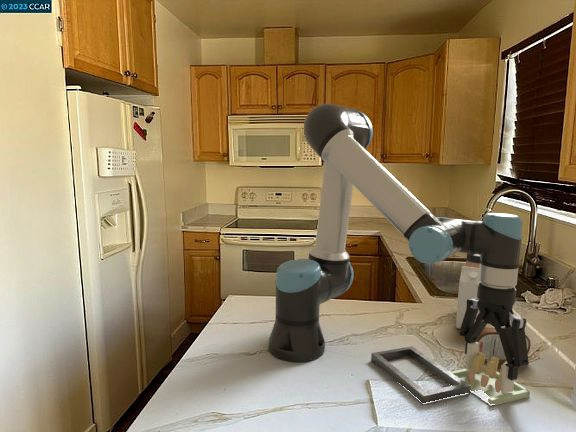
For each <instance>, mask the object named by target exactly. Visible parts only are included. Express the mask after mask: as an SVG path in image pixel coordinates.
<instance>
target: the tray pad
mask: <svg viewBox="0 0 576 432" xmlns="http://www.w3.org/2000/svg"><path fill="white" fill-rule="evenodd" d="M486 366H487V364H484V366H483V369H482V372H481V373H480V374H477V373H475V378H474V380H473V382H472V383H469V382H468V371H467V370H466V369H465V368H463V369H458V370H453V371H450V372H451V373H453V374H454V375H456V376H457V377H458V378H460V379H461V380H463V381H464V382H466V383H467V384H469V385H470V390H471V391H474V392H475V390H476V391H478V390H482V391H484V393H486V394H487V395H488V396H489V397H490V398H489V399H488V402H489V403H490V404H495V406H499V405H502V404H507V403H511V402H514V401H518V400H523V399H527V398H530V395H531V390H530V389H528V388H526V387H524V386H522V385H521V384H519V383H517V382H516V381H514V387H513V392H509V393H504V394H503V393H502V392H501V390H500V392H499V393H498V392H496V390H495V381H496V380H499V374H500V371H497V372H496V375H495V377H494V378H493V379H492V378H489V381H488V384H487V386H486V387H482V386H481V377H482V375H485V371H486ZM471 371H474V370H471ZM474 372H476V371H474ZM485 376H488V375H485ZM488 377H489V376H488ZM499 381H502V380H499Z"/></svg>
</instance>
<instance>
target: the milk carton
mask: <svg viewBox="0 0 576 432" xmlns="http://www.w3.org/2000/svg"><path fill="white" fill-rule="evenodd" d="M478 277H479V268H473V267H466V265H462V266H461V273H460V276H459V281H458V282H459V285H458V295H457V296H458V297H457V306H456V307H457V309H456V319H455V328H456V329H459V330H460V328H461V325H462V322H463V319H464V315H465V312H466V309H467V300H468V299H474V298H477V289H478V283H479V282H481V281H479V280H478ZM477 299H478V298H477ZM478 300H479V299H478ZM479 313H480V311H479V309H478V313H477V316H478V314H479ZM477 316H476V317H477ZM475 321H476V319H475ZM474 323H475V322H474Z"/></svg>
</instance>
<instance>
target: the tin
mask: <svg viewBox="0 0 576 432" xmlns="http://www.w3.org/2000/svg"><path fill="white" fill-rule="evenodd" d="M525 336H526V344H527V352H528V354H529V353H530V350H531V345H532V343H531V339H530V337H528V336H527V334H525ZM474 342H478V343H479V348H478V352H479V353H483V354H486V355H485V362H488V360H489V361H491V358H492V357H495V358H498V359H499V362H505V361H507V360H506V357H505V353H504V350H503V347H502V343H501V340H500V337H499V334H498V333H497V332H496V330H495V327H491V326H490V327H489V326H488V327H486V326H485V328H484V329H483V331H482V332H481V334H480V335H479V336H478V338H477V339H476V341H474ZM479 353H478V354H479Z"/></svg>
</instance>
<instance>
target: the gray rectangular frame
mask: <svg viewBox="0 0 576 432" xmlns="http://www.w3.org/2000/svg"><path fill="white" fill-rule="evenodd" d="M370 356H371V357H370V360H371V362H372V363H373V364H374V365H376V366H377V367H378V368H379V369H380V370H381V371H383V372H384V373H385V374H386V375H388V377H390V378H391V379H392V380H393V381H395V383H397V382H398V383H400V384H401V385H402V386H404V387H405V388H406V389H407V390H409V391H410V392H411V393H412V394H413V395H414V396H415V397H417V398H418V399H419V400H420V401H421V402H422V403H426V402H430V401H435V400H439V399H443V398H447V397H451V396H455V395H460V394H465V393H469V392H470V385H469V384H467V383H466V382H464V381H463V380H461V379H460V378H458V377H457V376H456V375H454V374H453V373H451V372H452V371H450V370H448V369H447V368H445V367H444V366H442V365H441V364H439V363H438V362H437V361H435V360H434V359H432V358H430V357H429V356H428V355H426V354H425V353H423V352H421V351H420V350H419V349H417V348H416V347H414V346H413V345H412V346H411V345H410V346H406V347H405V346H404V347H400V348H395V349H389V350H381V351H376V352H371V354H370ZM408 357H410V358H412V359H413V360H414V361H416V362H417V363H419V364H420V365H421V366H423V367H424V368H425V369H427V370H428V371H430V372H431V373H433V374H434V375H435V376H437V377H438V378H439V379H440V380H442V381H444V382H445V383H446V384H448V385H449V384H450V385H449V386H446V387H441V388H437V389H433V390H432V389H431V390H429V391H426V390H425V389H424V388H422V387H420V386H419V384H417V383H416V382H414V381H413V380H412V379H411V378H409V377H408V376H407V375H406V374H404V373H403V372H402V371H400V370H399V368H397V367H396V366H395V365H394V364H392V363H390V362H389V361H390V360H396V359H403V358H408ZM398 383H397V384H398ZM451 385H452V386H451ZM402 386H401V387H402ZM470 393H471V392H470Z"/></svg>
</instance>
